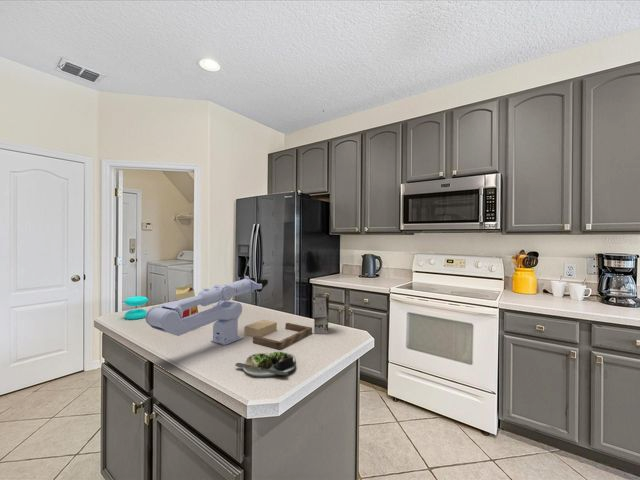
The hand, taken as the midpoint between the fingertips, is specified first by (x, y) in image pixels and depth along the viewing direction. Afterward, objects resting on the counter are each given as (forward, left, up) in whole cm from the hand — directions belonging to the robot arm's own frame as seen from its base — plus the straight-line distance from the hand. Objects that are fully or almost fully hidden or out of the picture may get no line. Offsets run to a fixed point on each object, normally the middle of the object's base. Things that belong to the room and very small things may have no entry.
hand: (260, 280), depth 138 cm
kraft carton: (-5, -5, -22) cm, 23 cm away
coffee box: (+12, -26, -22) cm, 36 cm away
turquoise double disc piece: (-22, +63, -22) cm, 70 cm away
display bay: (-5, -17, -22) cm, 28 cm away
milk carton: (-19, +28, -22) cm, 40 cm away
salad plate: (-29, -31, -22) cm, 48 cm away
